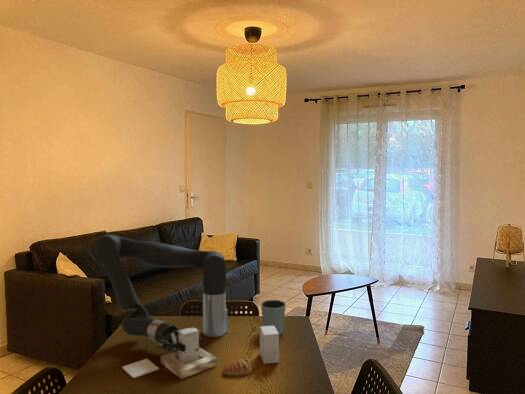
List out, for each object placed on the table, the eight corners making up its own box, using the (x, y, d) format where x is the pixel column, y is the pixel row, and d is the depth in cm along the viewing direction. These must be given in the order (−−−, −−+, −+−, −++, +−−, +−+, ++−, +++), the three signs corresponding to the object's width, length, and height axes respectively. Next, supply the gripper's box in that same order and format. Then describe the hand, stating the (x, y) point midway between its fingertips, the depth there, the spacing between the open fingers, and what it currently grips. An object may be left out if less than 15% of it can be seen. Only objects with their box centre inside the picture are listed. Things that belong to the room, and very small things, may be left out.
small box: (279, 363, 143) (279, 333, 142) (263, 364, 142) (263, 334, 141) (274, 352, 151) (274, 325, 150) (259, 353, 150) (259, 325, 149)
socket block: (195, 351, 151) (195, 344, 151) (217, 365, 141) (217, 358, 141) (160, 363, 142) (160, 356, 142) (181, 379, 132) (181, 371, 131)
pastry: (226, 379, 132) (226, 368, 132) (220, 370, 138) (220, 359, 138) (253, 374, 135) (253, 362, 135) (246, 365, 142) (246, 354, 141)
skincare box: (183, 369, 138) (182, 334, 137) (177, 363, 141) (177, 330, 140) (199, 364, 141) (199, 330, 140) (194, 359, 145) (194, 326, 144)
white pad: (146, 359, 144) (146, 358, 144) (158, 369, 138) (158, 368, 138) (122, 367, 138) (122, 366, 138) (133, 378, 132) (133, 377, 132)
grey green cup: (289, 330, 171) (289, 302, 170) (277, 339, 162) (277, 309, 161) (269, 325, 176) (269, 298, 175) (256, 333, 168) (256, 304, 167)
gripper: (145, 328, 144) (176, 341, 133) (177, 316, 155) (208, 327, 145) (146, 349, 144) (176, 363, 134) (177, 335, 156) (208, 348, 145)
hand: (193, 344), depth 139 cm, fingers closed on skincare box, 7 cm apart
